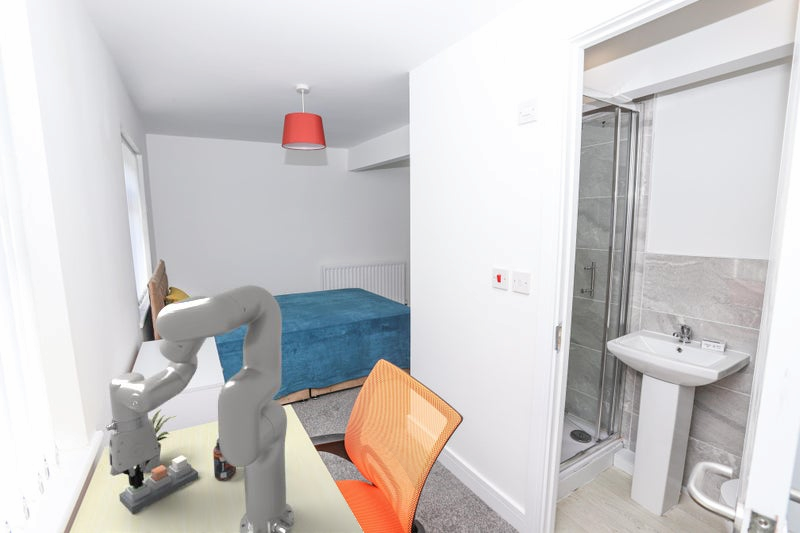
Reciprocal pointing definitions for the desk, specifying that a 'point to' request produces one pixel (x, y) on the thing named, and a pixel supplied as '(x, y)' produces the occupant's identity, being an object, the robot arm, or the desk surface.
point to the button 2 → (159, 473)
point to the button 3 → (179, 462)
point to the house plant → (155, 461)
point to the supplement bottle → (222, 465)
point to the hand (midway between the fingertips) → (137, 485)
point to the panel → (157, 488)
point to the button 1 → (137, 488)
